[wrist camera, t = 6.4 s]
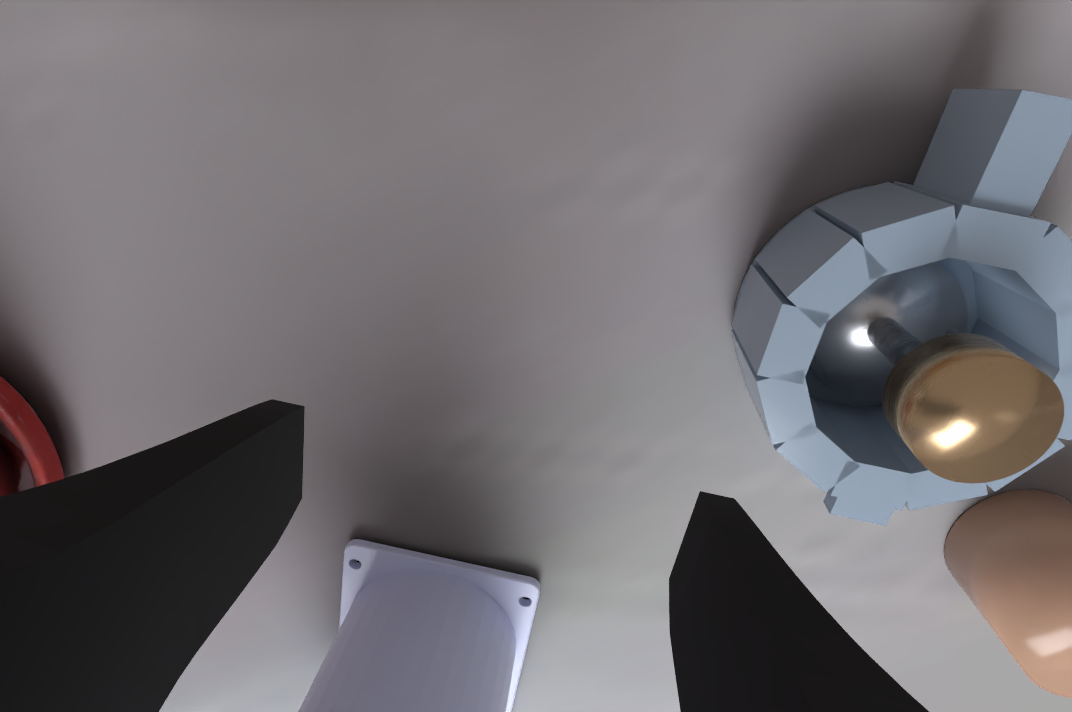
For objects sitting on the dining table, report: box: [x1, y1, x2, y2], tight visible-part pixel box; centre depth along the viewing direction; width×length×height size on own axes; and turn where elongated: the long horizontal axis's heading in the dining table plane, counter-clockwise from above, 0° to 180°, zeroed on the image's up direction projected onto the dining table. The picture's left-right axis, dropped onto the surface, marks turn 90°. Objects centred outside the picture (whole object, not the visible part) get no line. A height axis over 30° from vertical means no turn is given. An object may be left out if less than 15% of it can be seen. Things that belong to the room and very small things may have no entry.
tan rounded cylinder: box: [944, 489, 1072, 698], centre depth 20 cm, size 5×5×4 cm
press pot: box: [731, 89, 1072, 526], centre depth 18 cm, size 11×8×4 cm
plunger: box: [809, 262, 1064, 483], centre depth 16 cm, size 5×5×6 cm
